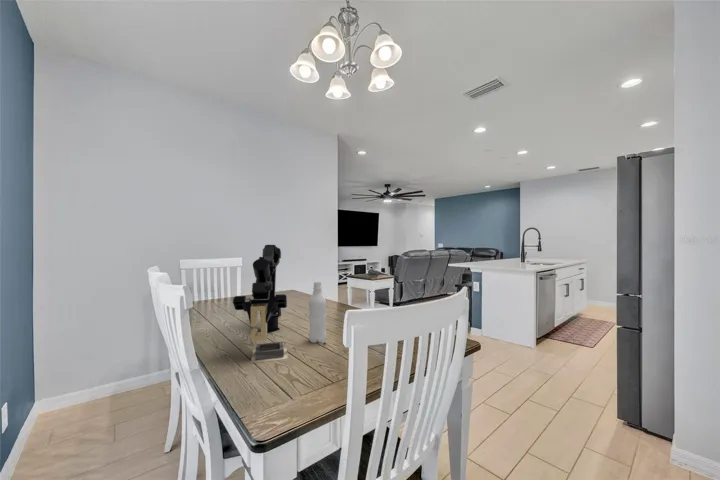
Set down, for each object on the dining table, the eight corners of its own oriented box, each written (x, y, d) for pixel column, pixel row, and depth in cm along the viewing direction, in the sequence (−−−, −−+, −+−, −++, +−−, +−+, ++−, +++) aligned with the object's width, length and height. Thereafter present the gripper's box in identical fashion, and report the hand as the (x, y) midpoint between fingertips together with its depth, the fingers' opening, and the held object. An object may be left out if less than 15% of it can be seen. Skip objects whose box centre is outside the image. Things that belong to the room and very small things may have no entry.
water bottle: (323, 347, 113) (322, 284, 113) (306, 345, 114) (305, 283, 114) (328, 340, 120) (328, 281, 120) (312, 339, 121) (312, 281, 121)
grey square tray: (253, 353, 107) (253, 343, 107) (286, 349, 110) (286, 339, 110) (250, 367, 95) (250, 355, 95) (287, 362, 99) (287, 351, 99)
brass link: (252, 336, 104) (252, 304, 103) (267, 336, 105) (267, 303, 104) (250, 340, 100) (250, 306, 100) (265, 339, 101) (265, 306, 100)
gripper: (233, 274, 104) (225, 312, 93) (286, 273, 107) (284, 309, 97) (238, 291, 112) (231, 328, 101) (287, 289, 115) (285, 325, 105)
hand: (258, 322), depth 101 cm, fingers closed on brass link, 5 cm apart
